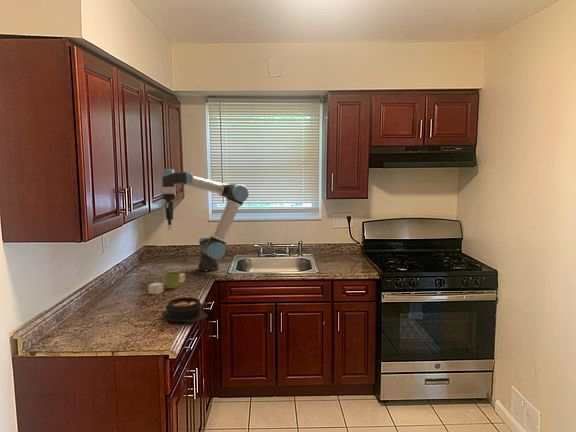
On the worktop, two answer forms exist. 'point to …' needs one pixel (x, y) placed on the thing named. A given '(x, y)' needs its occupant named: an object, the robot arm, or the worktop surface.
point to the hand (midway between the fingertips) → (170, 229)
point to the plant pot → (172, 279)
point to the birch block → (181, 277)
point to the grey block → (156, 288)
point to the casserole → (184, 310)
